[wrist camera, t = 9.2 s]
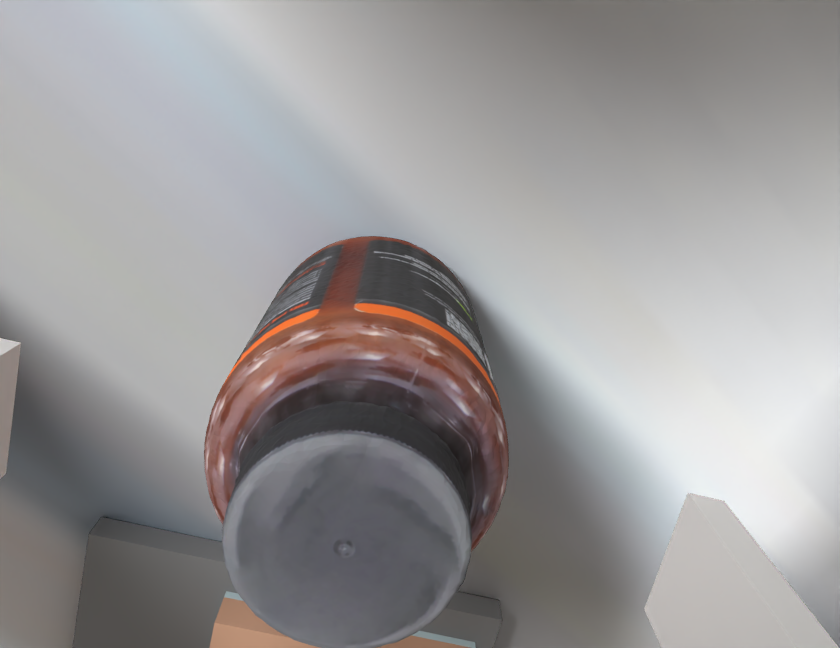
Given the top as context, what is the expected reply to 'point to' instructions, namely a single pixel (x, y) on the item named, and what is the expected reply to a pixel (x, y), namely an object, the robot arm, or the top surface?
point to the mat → (195, 593)
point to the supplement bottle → (357, 447)
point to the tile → (261, 644)
